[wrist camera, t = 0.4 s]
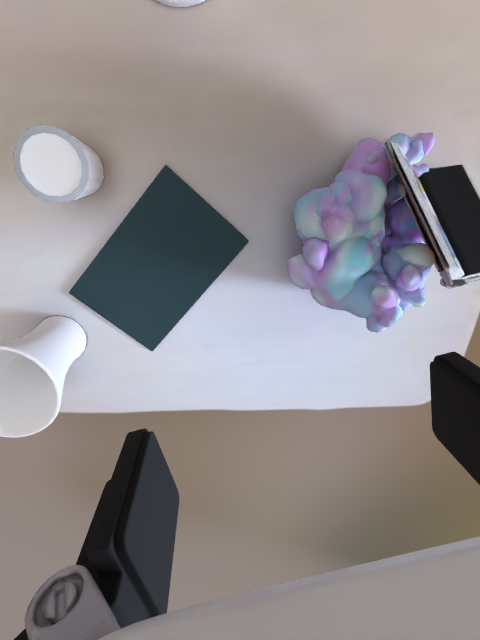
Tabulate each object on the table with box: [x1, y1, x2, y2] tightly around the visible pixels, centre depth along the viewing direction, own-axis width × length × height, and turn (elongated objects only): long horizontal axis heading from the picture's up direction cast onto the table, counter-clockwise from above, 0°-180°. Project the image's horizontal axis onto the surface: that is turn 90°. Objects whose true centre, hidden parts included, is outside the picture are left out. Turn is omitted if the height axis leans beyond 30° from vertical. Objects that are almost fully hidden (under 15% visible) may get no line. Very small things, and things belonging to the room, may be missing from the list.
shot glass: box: [13, 125, 104, 204], centre depth 35 cm, size 7×7×7 cm
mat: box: [69, 165, 249, 351], centre depth 43 cm, size 13×20×1 cm, turn 138°
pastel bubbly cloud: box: [287, 133, 480, 332], centre depth 36 cm, size 20×22×18 cm
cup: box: [0, 316, 86, 438], centre depth 39 cm, size 10×10×14 cm
